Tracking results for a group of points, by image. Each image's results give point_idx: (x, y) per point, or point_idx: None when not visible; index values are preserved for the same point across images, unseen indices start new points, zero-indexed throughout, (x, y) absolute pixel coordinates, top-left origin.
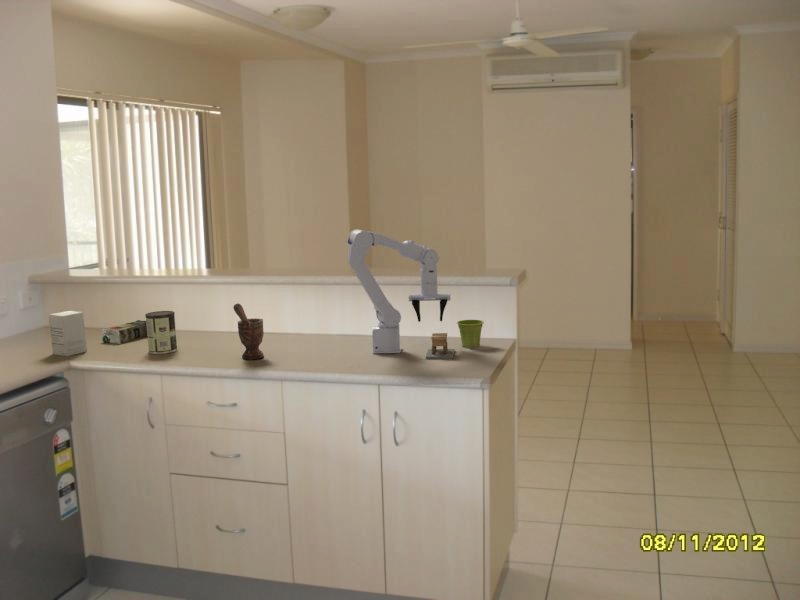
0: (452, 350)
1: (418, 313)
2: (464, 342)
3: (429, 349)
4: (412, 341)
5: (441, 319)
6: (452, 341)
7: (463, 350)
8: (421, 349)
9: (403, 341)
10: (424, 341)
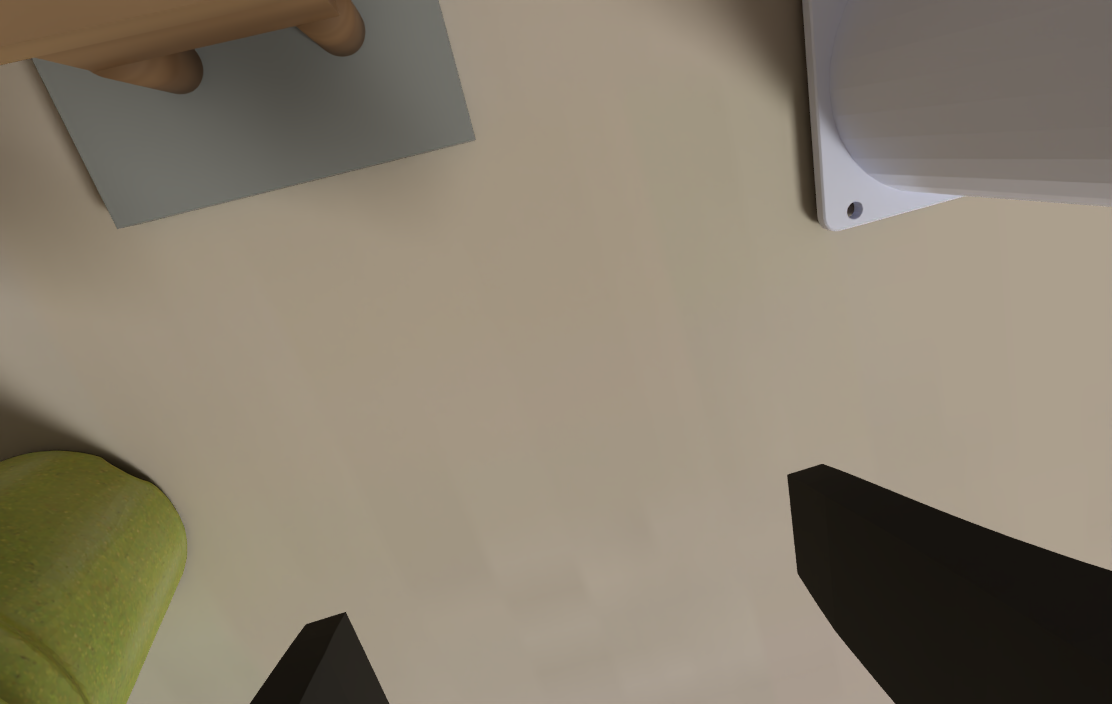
0: (79, 101)
1: (976, 562)
2: (69, 480)
3: (451, 119)
4: (777, 572)
5: (294, 651)
6: (395, 671)
7: (30, 290)
8: (594, 243)
9: None
10: (667, 600)
